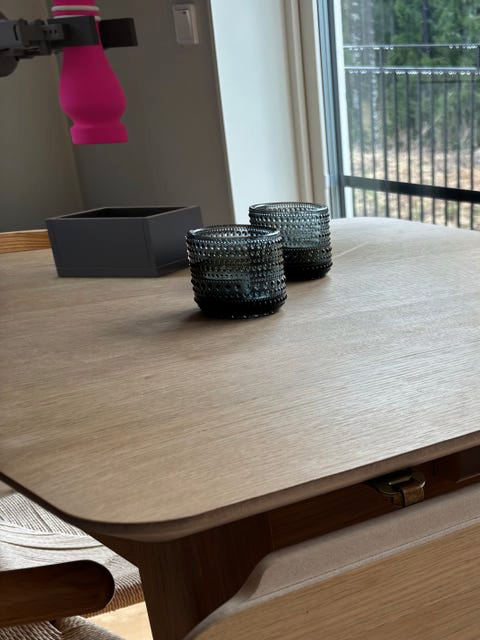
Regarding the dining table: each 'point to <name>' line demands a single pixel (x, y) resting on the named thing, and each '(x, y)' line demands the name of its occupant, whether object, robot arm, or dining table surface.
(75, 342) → the dining table surface
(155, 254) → the basin
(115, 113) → the pepper mill
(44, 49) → the robot arm
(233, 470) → the dining table surface
